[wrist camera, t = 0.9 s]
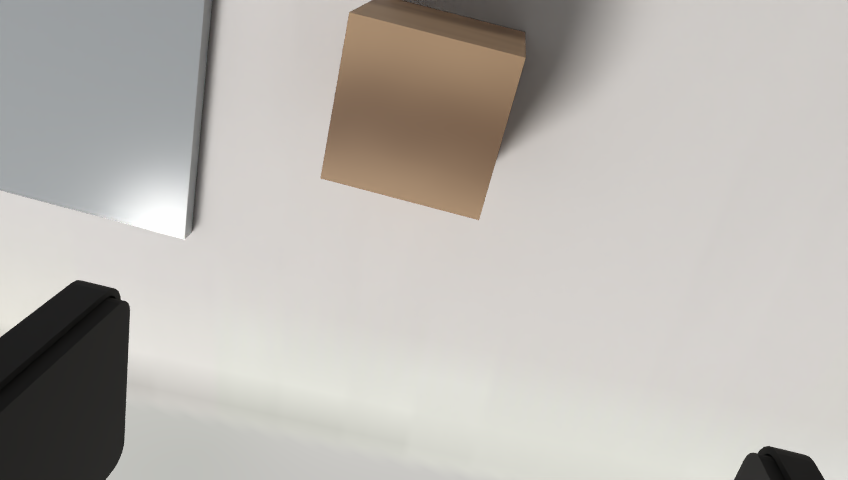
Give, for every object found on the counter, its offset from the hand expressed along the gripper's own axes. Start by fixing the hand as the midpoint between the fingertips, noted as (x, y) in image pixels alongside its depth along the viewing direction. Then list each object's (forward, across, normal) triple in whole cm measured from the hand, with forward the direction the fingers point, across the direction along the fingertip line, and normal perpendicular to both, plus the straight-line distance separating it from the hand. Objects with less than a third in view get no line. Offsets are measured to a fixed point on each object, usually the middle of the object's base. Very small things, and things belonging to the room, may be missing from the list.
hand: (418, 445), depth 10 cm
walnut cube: (+21, +2, -1) cm, 22 cm away
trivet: (+22, +18, +2) cm, 28 cm away
